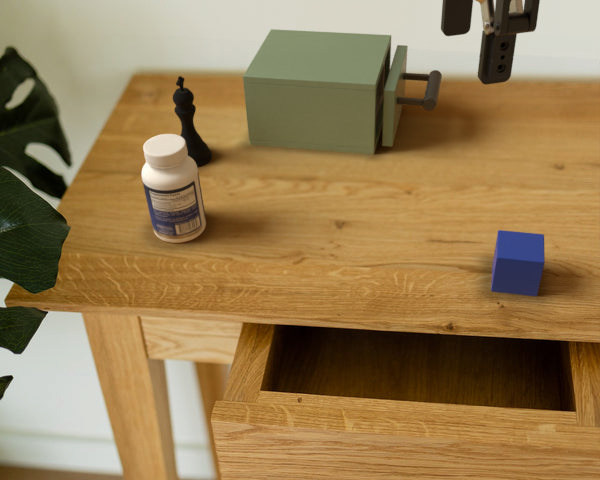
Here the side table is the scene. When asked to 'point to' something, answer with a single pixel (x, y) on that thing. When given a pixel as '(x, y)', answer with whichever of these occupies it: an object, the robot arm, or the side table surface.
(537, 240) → the blue rectangular box
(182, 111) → the chess piece
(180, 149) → the pill bottle
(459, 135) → the side table surface
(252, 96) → the green drawer cabinet
